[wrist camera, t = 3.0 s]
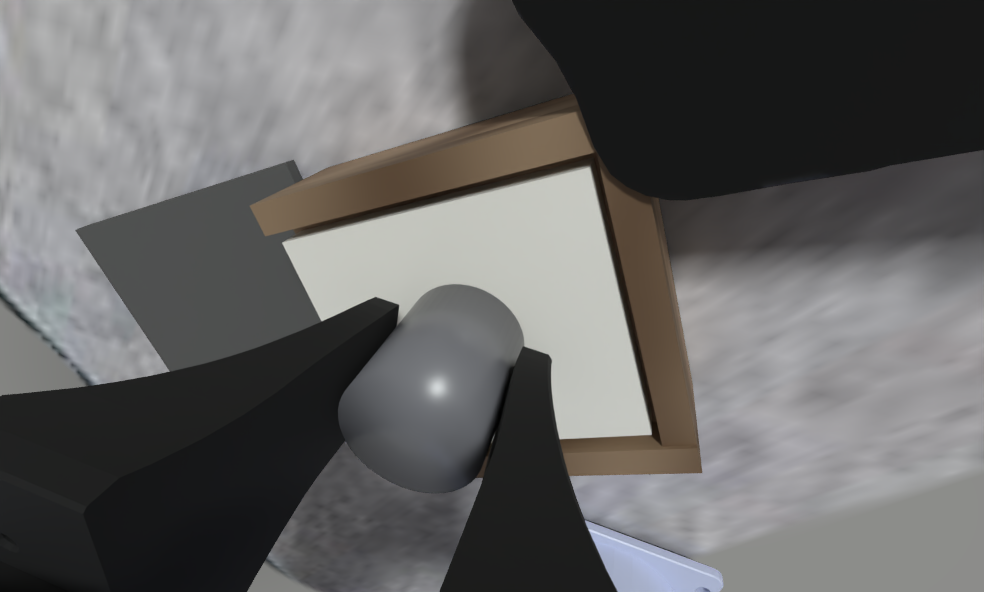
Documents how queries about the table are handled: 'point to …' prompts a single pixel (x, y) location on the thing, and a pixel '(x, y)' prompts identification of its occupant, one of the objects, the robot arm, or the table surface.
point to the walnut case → (635, 234)
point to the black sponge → (766, 86)
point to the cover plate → (516, 261)
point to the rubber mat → (205, 270)
